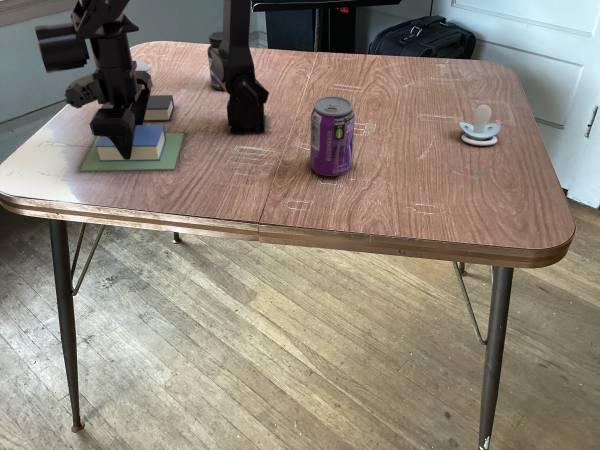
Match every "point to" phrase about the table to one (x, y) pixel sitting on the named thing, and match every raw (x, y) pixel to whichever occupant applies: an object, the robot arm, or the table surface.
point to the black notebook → (156, 108)
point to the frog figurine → (141, 66)
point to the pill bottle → (215, 43)
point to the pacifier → (480, 128)
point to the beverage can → (332, 135)
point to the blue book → (136, 145)
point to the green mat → (165, 162)
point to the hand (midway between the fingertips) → (133, 145)
